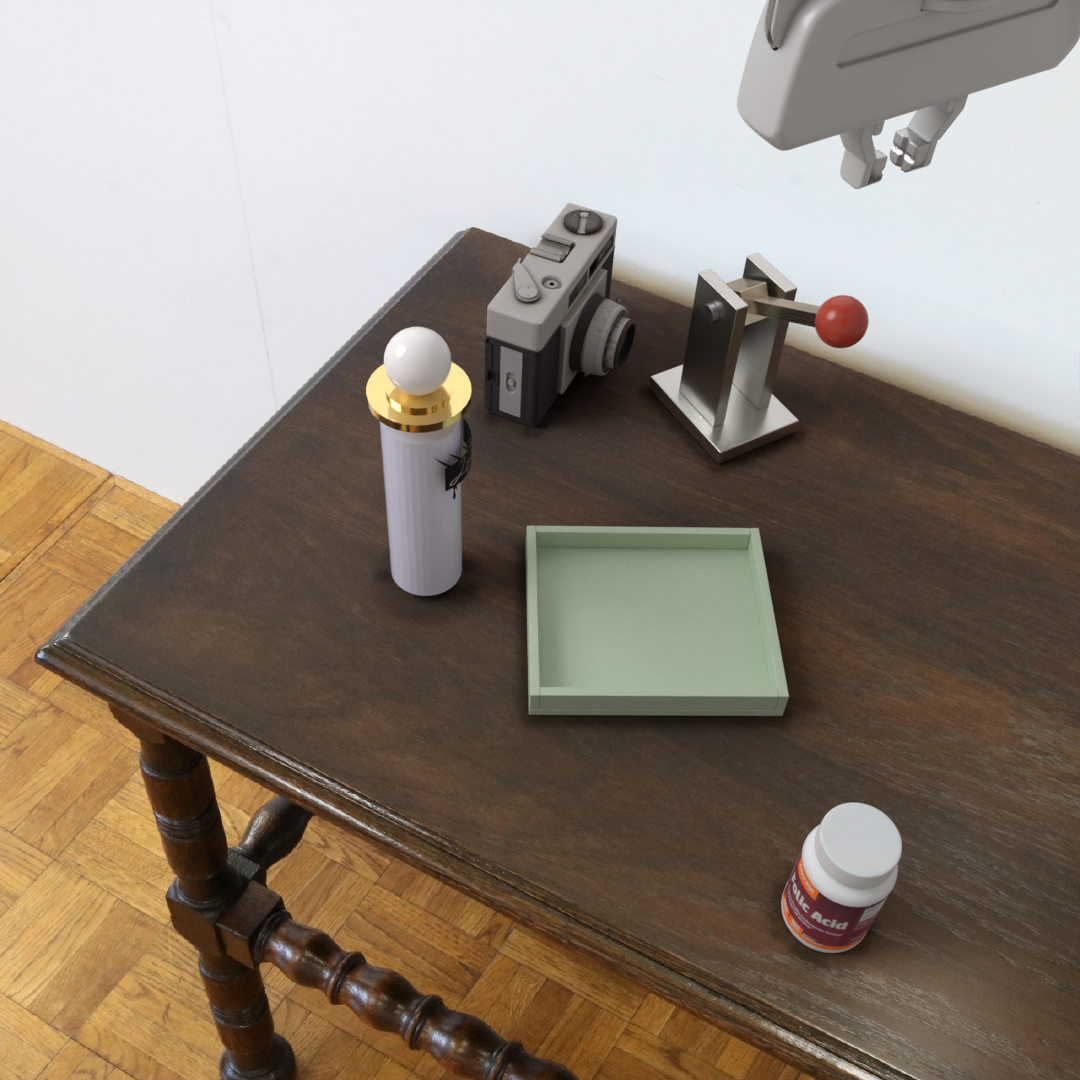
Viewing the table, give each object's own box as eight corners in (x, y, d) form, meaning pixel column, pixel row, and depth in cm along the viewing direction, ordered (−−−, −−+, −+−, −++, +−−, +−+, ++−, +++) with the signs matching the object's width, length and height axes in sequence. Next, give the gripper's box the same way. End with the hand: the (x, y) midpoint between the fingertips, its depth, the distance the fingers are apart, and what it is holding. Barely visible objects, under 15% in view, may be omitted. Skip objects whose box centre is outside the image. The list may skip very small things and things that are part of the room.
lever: (882, 342, 77) (877, 291, 75) (841, 358, 76) (835, 307, 74) (753, 314, 88) (746, 269, 86) (715, 328, 87) (708, 283, 85)
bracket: (796, 432, 92) (831, 302, 83) (717, 464, 89) (745, 334, 80) (724, 359, 97) (749, 229, 88) (648, 388, 94) (666, 257, 85)
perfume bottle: (371, 601, 80) (347, 360, 65) (396, 535, 84) (379, 292, 68) (459, 618, 79) (456, 379, 64) (480, 550, 83) (482, 309, 68)
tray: (753, 548, 84) (758, 527, 82) (782, 716, 75) (789, 696, 74) (525, 546, 83) (526, 525, 82) (528, 715, 75) (530, 695, 73)
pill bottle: (761, 911, 67) (791, 836, 61) (816, 855, 70) (850, 777, 63) (833, 974, 65) (872, 903, 59) (887, 914, 67) (929, 839, 61)
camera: (583, 447, 90) (593, 338, 82) (479, 410, 92) (480, 301, 84) (654, 333, 98) (669, 225, 91) (558, 302, 100) (565, 194, 93)
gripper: (824, -15, 53) (766, 256, 64) (1158, -100, 60) (1057, 156, 71) (736, -75, 57) (695, 191, 67) (1062, -148, 64) (979, 102, 74)
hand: (883, 172), depth 69 cm, fingers closed
